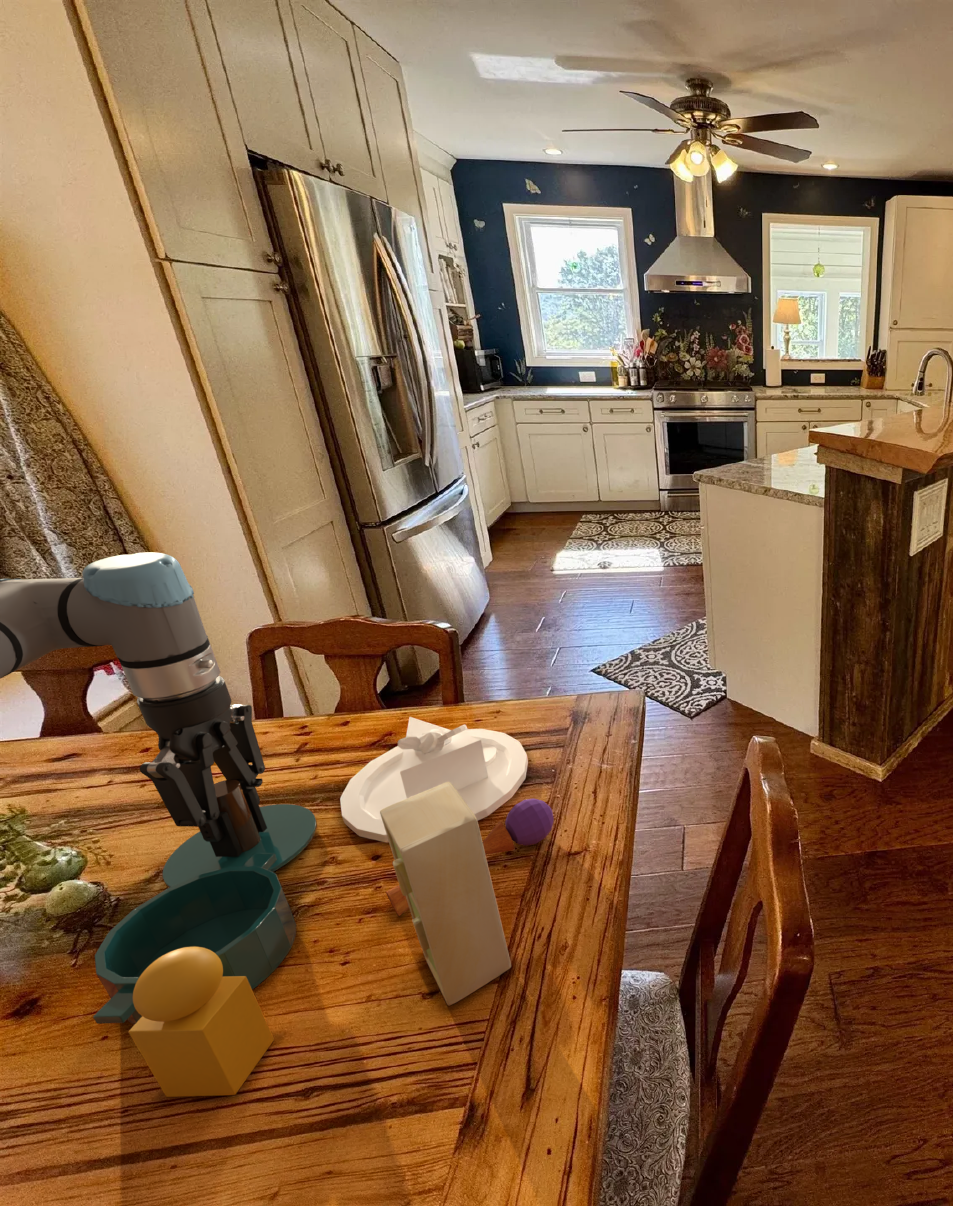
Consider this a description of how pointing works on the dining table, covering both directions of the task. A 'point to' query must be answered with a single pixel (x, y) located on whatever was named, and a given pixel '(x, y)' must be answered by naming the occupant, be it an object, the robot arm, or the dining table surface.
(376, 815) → the dish
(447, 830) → the toy refrigerator
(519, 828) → the kendama
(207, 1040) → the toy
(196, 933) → the pot
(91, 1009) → the dining table surface
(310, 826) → the lid
